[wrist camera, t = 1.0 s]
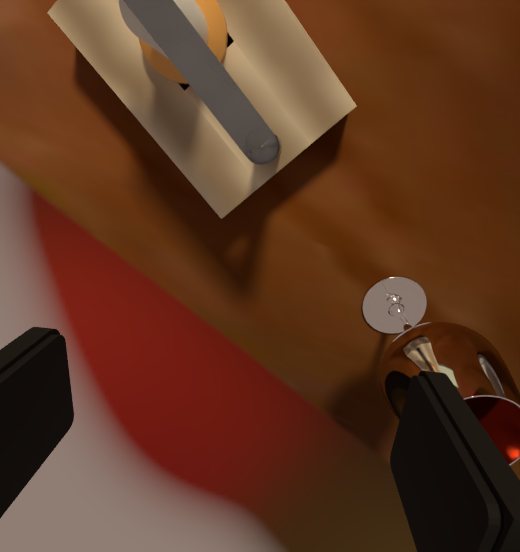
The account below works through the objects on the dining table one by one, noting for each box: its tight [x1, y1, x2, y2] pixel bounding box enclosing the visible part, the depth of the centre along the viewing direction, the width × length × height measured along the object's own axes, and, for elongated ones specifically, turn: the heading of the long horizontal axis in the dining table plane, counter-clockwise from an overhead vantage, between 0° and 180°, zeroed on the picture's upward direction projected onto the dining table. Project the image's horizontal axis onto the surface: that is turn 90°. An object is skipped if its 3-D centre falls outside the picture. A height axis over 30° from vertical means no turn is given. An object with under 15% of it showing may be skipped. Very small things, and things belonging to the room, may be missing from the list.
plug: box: [119, 0, 228, 84], centre depth 26 cm, size 6×6×11 cm
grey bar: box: [123, 0, 282, 165], centre depth 23 cm, size 16×2×9 cm, turn 39°
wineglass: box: [362, 276, 520, 466], centre depth 29 cm, size 8×8×18 cm
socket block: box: [48, 0, 356, 219], centre depth 29 cm, size 14×20×4 cm
